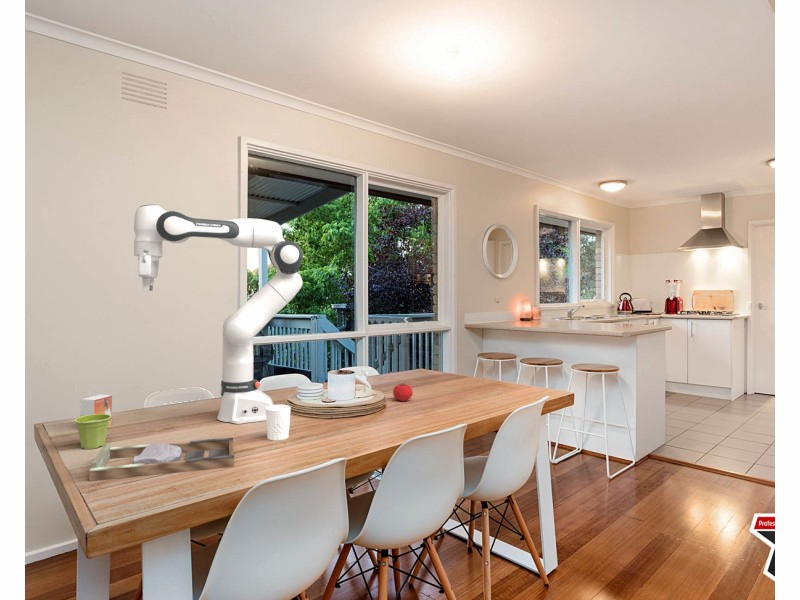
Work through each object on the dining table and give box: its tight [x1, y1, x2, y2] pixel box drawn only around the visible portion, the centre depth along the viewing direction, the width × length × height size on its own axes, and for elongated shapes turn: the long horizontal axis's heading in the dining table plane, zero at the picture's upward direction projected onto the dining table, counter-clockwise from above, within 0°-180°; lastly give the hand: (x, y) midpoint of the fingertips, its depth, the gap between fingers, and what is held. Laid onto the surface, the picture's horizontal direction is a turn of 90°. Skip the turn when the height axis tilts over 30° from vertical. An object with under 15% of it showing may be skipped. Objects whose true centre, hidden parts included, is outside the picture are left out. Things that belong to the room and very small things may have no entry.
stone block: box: [132, 442, 183, 464], centre depth 133 cm, size 12×5×10 cm
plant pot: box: [74, 414, 111, 450], centre depth 145 cm, size 9×9×9 cm
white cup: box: [265, 404, 292, 442], centre depth 157 cm, size 8×8×10 cm
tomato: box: [392, 382, 414, 402], centre depth 214 cm, size 9×9×8 cm
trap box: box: [89, 437, 235, 482], centre depth 134 cm, size 34×18×4 cm, turn 110°
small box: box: [79, 394, 113, 427], centre depth 165 cm, size 8×6×10 cm
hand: (148, 290), depth 168 cm, fingers open, 8 cm apart
